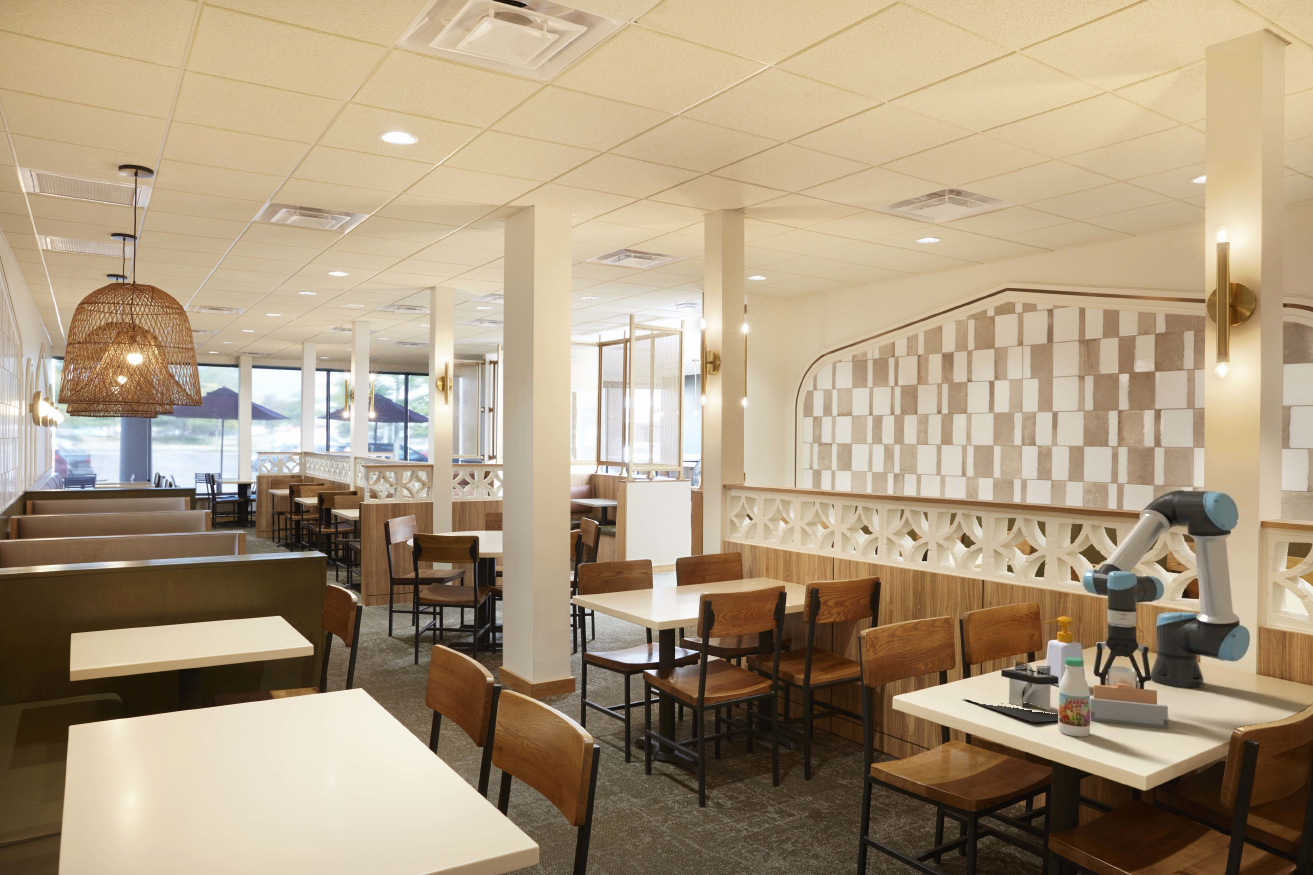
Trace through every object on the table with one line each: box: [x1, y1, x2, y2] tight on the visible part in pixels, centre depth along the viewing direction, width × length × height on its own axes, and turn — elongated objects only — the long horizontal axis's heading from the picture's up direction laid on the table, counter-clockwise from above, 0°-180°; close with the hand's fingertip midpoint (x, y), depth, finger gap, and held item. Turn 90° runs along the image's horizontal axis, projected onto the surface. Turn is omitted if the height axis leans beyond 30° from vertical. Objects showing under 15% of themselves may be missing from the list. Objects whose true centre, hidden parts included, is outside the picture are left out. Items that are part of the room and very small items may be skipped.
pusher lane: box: [1090, 697, 1169, 730], centre depth 252 cm, size 19×19×6 cm
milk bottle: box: [1057, 657, 1091, 737], centre depth 236 cm, size 8×8×20 cm
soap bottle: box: [1042, 615, 1086, 687], centre depth 285 cm, size 10×14×22 cm
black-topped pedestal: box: [979, 659, 1059, 723], centre depth 259 cm, size 28×26×13 cm
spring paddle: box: [1093, 682, 1158, 705], centre depth 251 cm, size 16×3×8 cm, turn 69°
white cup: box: [1106, 665, 1138, 688], centre depth 257 cm, size 8×8×10 cm
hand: (1121, 702), depth 256 cm, fingers closed on white cup, 7 cm apart
